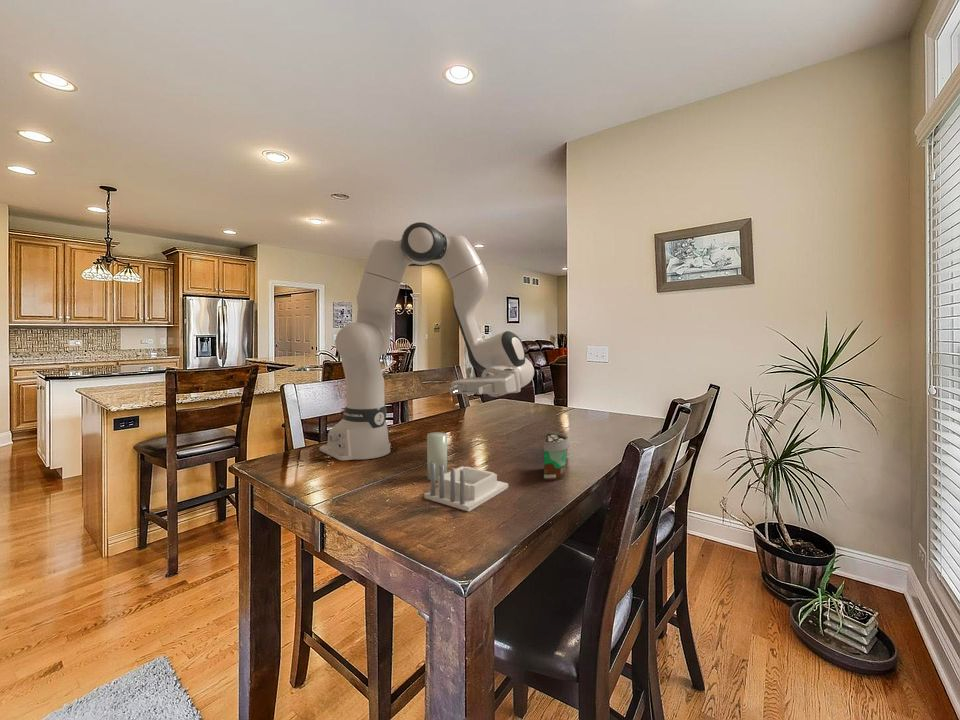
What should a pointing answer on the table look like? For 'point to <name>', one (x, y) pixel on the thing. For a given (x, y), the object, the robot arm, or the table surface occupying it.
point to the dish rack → (464, 487)
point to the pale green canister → (436, 452)
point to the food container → (555, 455)
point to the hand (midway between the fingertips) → (463, 391)
